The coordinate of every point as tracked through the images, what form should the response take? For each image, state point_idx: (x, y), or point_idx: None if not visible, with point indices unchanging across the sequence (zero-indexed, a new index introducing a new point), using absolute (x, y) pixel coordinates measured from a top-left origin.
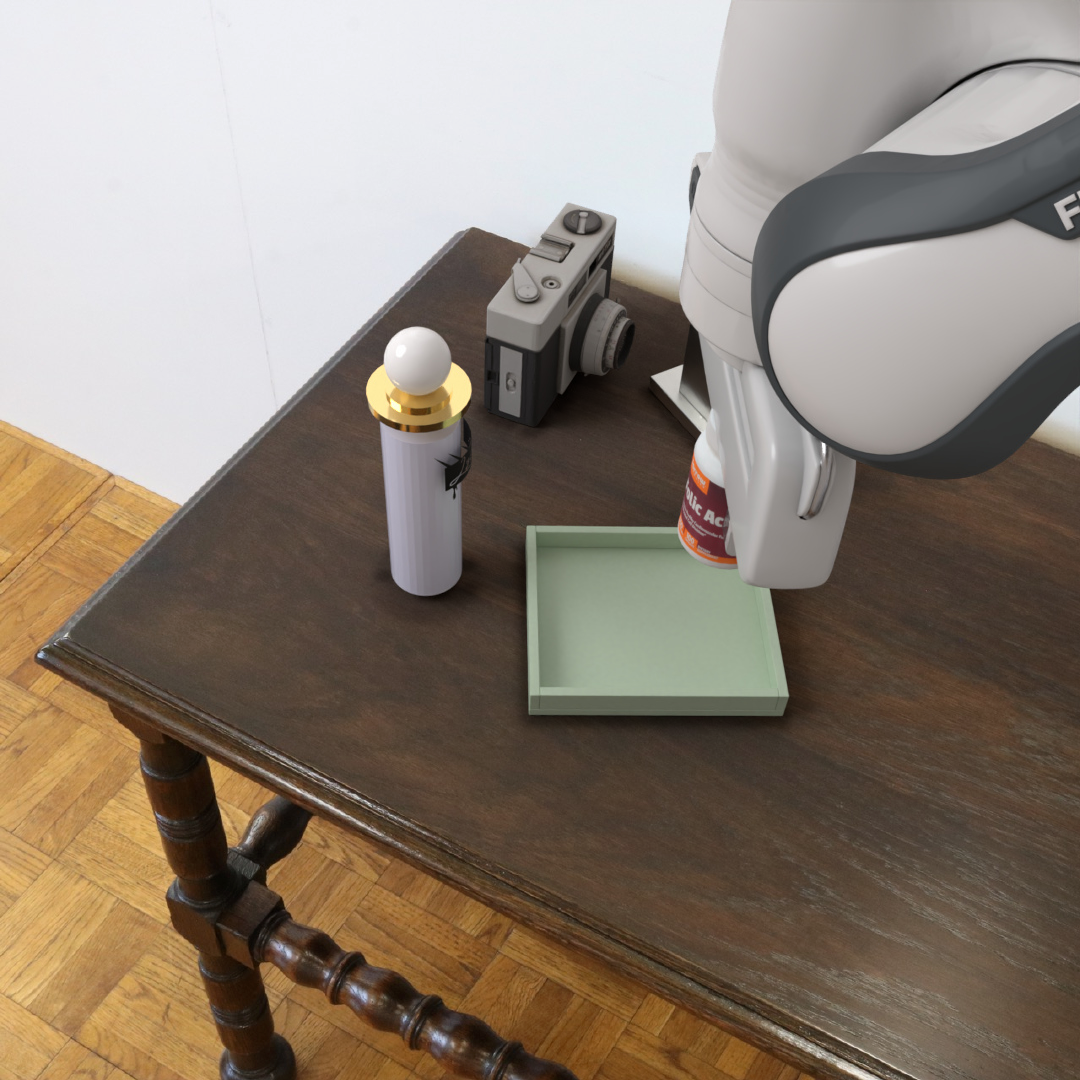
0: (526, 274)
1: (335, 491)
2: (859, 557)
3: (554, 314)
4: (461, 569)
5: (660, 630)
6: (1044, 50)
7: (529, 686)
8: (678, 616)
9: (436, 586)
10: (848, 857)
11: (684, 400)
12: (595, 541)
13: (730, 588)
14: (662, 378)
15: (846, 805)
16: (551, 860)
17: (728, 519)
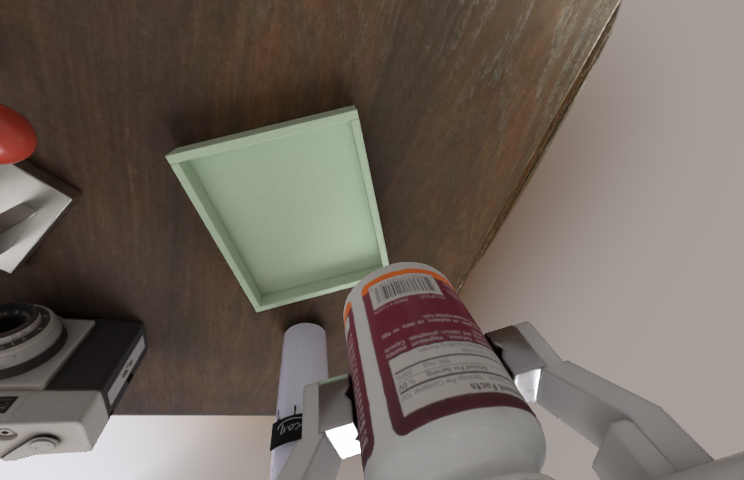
0: (14, 451)
1: (263, 381)
2: (122, 28)
3: (46, 412)
4: (301, 325)
5: (305, 209)
6: None
7: None
8: (287, 200)
9: (322, 334)
10: (470, 40)
11: (20, 241)
12: (244, 268)
13: (240, 165)
14: (4, 264)
15: (427, 42)
16: (474, 231)
17: (530, 401)
